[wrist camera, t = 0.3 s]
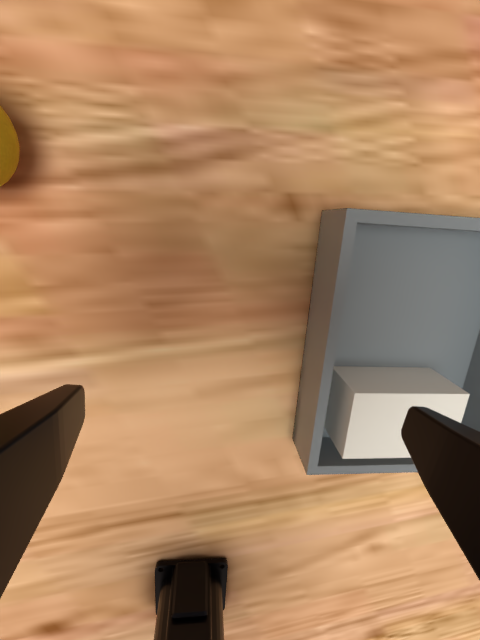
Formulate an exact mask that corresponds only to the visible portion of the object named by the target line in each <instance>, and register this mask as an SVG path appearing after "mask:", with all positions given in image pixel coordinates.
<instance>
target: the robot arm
mask: <svg viewBox="0 0 480 640" xmlns="http://www.w3.org/2000/svg"><path fill="white" fill-rule="evenodd" d="M84 418H85V393H84V388H83V386H81V385H70V384H66V385H63V386H61V387H59V388H57V389H54V390H52V391H50V392H48V393H46V394H44V395H41V396H39V397H37V398H35V399H33V400H30V401H28V402H26V403H24V404H22V405H20V406H17V407H15V408H13V409H11V410H9V411H6V412H4V413H2V414H0V598H1V596H2V594H3V592H4V590H5V588H6V586H7V585H8V583H9V581H10V579H11V577H12V575H13V573H14V571H15V569H16V567H17V565H18V563H19V561H20V559H21V557H22V555H23V554H24V552H25V550H26V548H27V546H28V544H29V542H30V540H31V538H32V536H33V534H34V532H35V530H36V528H37V526H38V524H39V522H40V521H41V519H42V517H43V515H44V513H45V511H46V509H47V507H48V505H49V503H50V501H51V499H52V497H53V495H54V493H55V491H56V490H57V488H58V485H59V483H60V481H61V479H62V477H63V475H64V472H65V470H66V467H67V464H68V462H69V459H70V457H71V454H72V451H73V449H74V446H75V443H76V441H77V438H78V436H79V433H80V430H81V428H82V425H83V422H84ZM401 436H402V439H403V442H404V444H405V446H406V448H407V450H408V452H409V454H410V456H411V458H412V461H413V463H414V465H415V467H416V469H417V471H418V473H419V475H420V477H421V480H422V482H423V484H424V485H425V487H426V489H427V491H428V493H429V495H430V497H431V498H432V500H433V502H434V503H435V505H436V507H437V508H438V510H439V512H440V514H441V515H442V517H443V519H444V520H445V522H446V524H447V526H448V527H449V529H450V531H451V532H452V534H453V536H454V538H455V539H456V541H457V543H458V544H459V546H460V548H461V549H462V551H463V553H464V555H465V556H466V558H467V560H468V561H469V563H470V565H471V567H472V568H473V570H474V572H475V573H476V575H477V577H478V578H479V580H480V432H479V431H477V430H475V429H473V428H470V427H468V426H466V425H464V424H462V423H460V422H457V421H455V420H453V419H451V418H449V417H447V416H444V415H442V414H440V413H438V412H436V411H434V410H431V409H429V408H427V407H420V406H412V407H410V408H409V409H408V412H407V415H406V417H405V420H404V423H403V426H402V429H401ZM227 568H228V564H227V560H226V559H225V558H214V559H195V560H176V561H160V562H158V563H157V564H156V567H155V597H156V615H157V618H156V626H155V634H154V640H224V627H223V610H224V608H225V596H226V582H227Z"/></svg>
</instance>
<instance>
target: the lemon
mask: <svg viewBox="0 0 480 640" xmlns="http://www.w3.org/2000/svg"><path fill="white" fill-rule="evenodd" d="M19 151H20V147H19V142H18V137H17V133H16V131H15V129H14V127H13V124H12V122H11V120H10V118H9V117H8V115H7V114H6V113H5V111H4V110H3V108H2V107H1V106H0V187H1V186H2V185H3V184H5V183H6V182H7V181H9V180H10V178H11V177H12V175H13V174H14V172H15V171H16V168H17V165H18V162H19Z"/></svg>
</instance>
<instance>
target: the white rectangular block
mask: <svg viewBox="0 0 480 640" xmlns="http://www.w3.org/2000/svg"><path fill="white" fill-rule="evenodd" d="M469 395H470V394H469V393H468V392H466V391H465V390H463V389H461V388H460V387H458V386H457V385H455V384H454V383H452V382H451V381H449V380H448V379H446V378H445V377H443V376H442V375H440V374H439V373H437V372H436V371H434V370H433V369H431V368H415V367H352V366H334V368H333V374H332V381H331V387H330V393H329V399H328V405H327V411H326V418H325V424H324V427H325V429H326V431H327V433H328V434H329V436H330V438H331V440H332V441H333V443H334V445H335V447H336V448H337V450H338V452H339V454H340V455H341V457H342V459H364V458H411V456H410V454H409V452H408V450H407V448H406V446H405V444H404V442H403V439H402V436H401V429H402V426H403V423H404V420H405V417H406V415H407V412H408V409H409V408H410V407H412V406H420V407H427V408H429V409H431V410H434V411H436V412H438V413H440V414H442V415H444V416H447V417H449V418H451V419H453V420H455V421H457V422H460V423H461V422H462V418H463V415H464V412H465V408H466V405H467V402H468V399H469Z"/></svg>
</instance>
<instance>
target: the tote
mask: <svg viewBox="0 0 480 640" xmlns="http://www.w3.org/2000/svg"><path fill="white" fill-rule="evenodd" d="M334 366H352V367H415V368H431V369H433V370H434V371H436V372H437V373H439V374H440V375H442V376H443V377H445V378H446V379H448V380H449V381H451V382H452V383H454V384H455V385H457V386H458V387H460V388H461V389H463V390H465V391H466V392H468V393H469V394H470V395H469V399H468V402H467V405H466V408H465V412H464V415H463V418H462V422H461V423H462V424H464V425H466V426H468V427H470V428H473V429H475V430H477V431H479V432H480V218H471V217H458V216H445V215H431V214H418V213H404V212H391V211H378V210H364V209H351V208H344V209H333V210H322V216H321V224H320V231H319V239H318V247H317V254H316V262H315V270H314V277H313V285H312V293H311V300H310V308H309V316H308V323H307V331H306V339H305V346H304V354H303V362H302V369H301V377H300V385H299V392H298V400H297V408H296V415H295V423H294V431H293V438H292V439H293V441H294V444H295V446H296V449H297V451H298V454H299V456H300V459H301V461H302V464H303V466H304V469H305V471H306V474H307V475H319V474H360V473H402V472H418V471H417V469H416V467H415V465H414V463H413V461H412V458H364V459H342V457H341V455H340V454H339V452H338V450H337V448H336V447H335V445H334V443H333V441H332V440H331V438H330V436H329V434H328V433H327V431H326V429H325V427H324V424H325V418H326V411H327V405H328V399H329V393H330V387H331V381H332V374H333V368H334Z"/></svg>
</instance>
